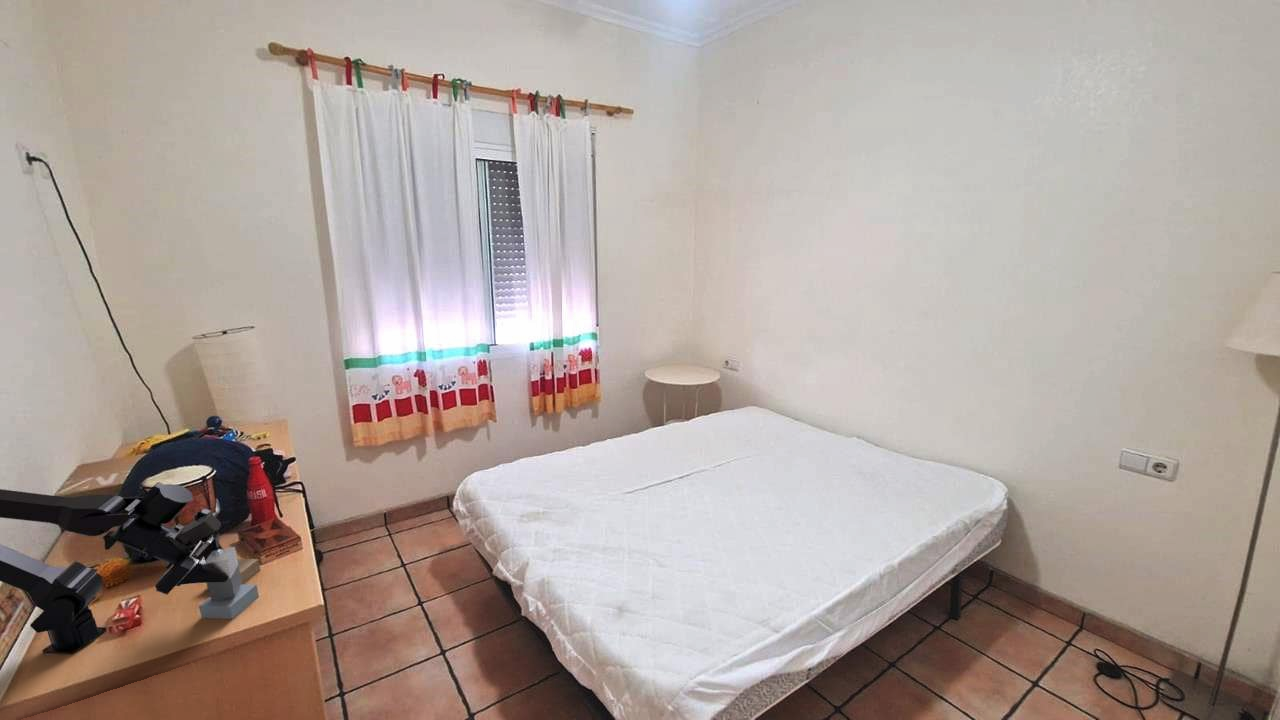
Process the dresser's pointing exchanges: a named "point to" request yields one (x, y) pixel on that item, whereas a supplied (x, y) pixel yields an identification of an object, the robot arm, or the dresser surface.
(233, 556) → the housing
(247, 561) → the stand
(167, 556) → the robot arm
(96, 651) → the dresser surface
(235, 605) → the stand
